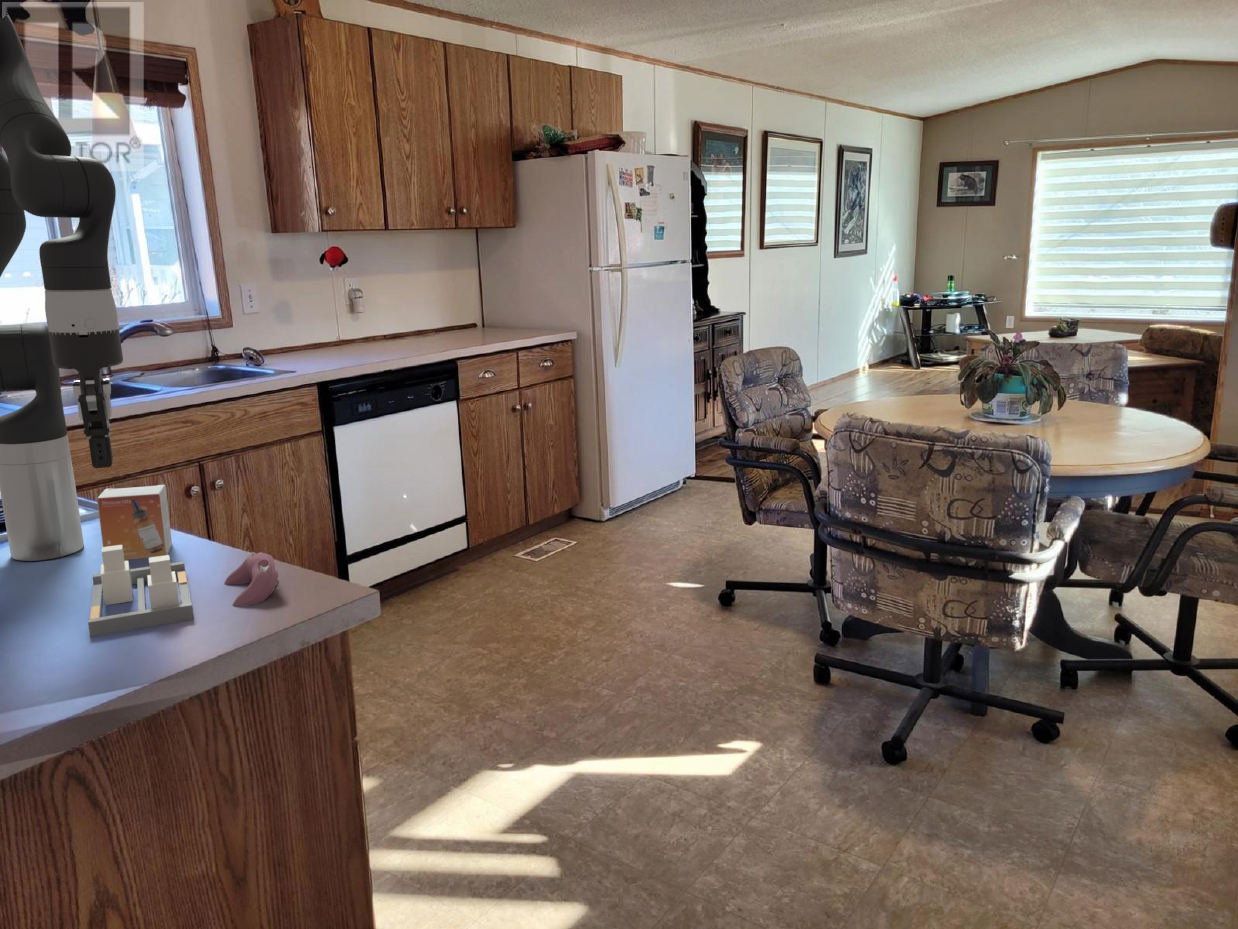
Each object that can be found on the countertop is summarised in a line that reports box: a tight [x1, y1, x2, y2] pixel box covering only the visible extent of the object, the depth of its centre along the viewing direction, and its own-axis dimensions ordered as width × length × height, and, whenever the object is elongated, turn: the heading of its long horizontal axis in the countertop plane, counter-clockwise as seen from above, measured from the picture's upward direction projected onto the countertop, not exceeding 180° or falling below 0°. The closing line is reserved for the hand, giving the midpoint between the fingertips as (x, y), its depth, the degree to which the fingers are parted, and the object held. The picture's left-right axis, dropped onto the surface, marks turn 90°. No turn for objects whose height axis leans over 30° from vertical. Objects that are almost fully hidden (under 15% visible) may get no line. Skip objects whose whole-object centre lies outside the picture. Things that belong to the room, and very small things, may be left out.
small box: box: [96, 484, 173, 561], centre depth 128 cm, size 8×6×10 cm
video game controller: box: [223, 551, 281, 607], centre depth 114 cm, size 10×5×7 cm, turn 30°
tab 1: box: [100, 545, 134, 606], centre depth 111 cm, size 4×3×6 cm
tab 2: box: [147, 554, 180, 609], centre depth 107 cm, size 4×3×6 cm
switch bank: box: [87, 561, 195, 637], centre depth 110 cm, size 20×11×3 cm, turn 28°
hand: (102, 464), depth 114 cm, fingers open, 2 cm apart
